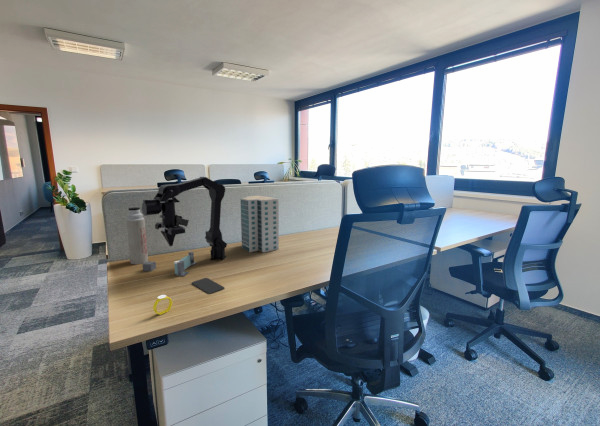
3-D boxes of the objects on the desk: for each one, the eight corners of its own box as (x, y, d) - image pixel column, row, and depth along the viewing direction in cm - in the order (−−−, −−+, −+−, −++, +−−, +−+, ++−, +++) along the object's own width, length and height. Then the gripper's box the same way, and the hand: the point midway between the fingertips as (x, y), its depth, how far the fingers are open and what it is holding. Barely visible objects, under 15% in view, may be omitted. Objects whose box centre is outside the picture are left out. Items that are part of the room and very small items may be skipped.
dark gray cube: (156, 268, 137) (155, 261, 136) (151, 271, 133) (150, 264, 133) (148, 268, 137) (147, 261, 137) (143, 271, 134) (142, 264, 133)
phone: (209, 293, 110) (190, 282, 120) (209, 295, 110) (190, 284, 120) (225, 287, 115) (206, 277, 125) (225, 289, 115) (206, 279, 125)
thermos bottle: (151, 259, 149) (147, 206, 144) (140, 264, 141) (135, 209, 137) (138, 258, 151) (133, 206, 146) (126, 263, 143) (120, 208, 138)
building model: (238, 245, 175) (236, 197, 170) (261, 241, 185) (260, 195, 179) (254, 254, 159) (252, 201, 154) (278, 249, 169) (278, 198, 163)
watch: (157, 318, 94) (155, 302, 92) (153, 315, 95) (150, 299, 94) (174, 309, 99) (172, 293, 97) (169, 307, 100) (167, 291, 99)
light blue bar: (190, 265, 141) (190, 253, 140) (178, 274, 129) (177, 262, 128) (187, 265, 141) (186, 253, 140) (174, 274, 129) (173, 262, 128)
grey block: (188, 272, 132) (188, 260, 131) (184, 276, 127) (183, 263, 126) (182, 272, 132) (181, 260, 131) (177, 276, 128) (176, 263, 127)
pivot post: (197, 262, 145) (197, 251, 144) (193, 265, 141) (193, 254, 140) (189, 262, 146) (188, 250, 144) (185, 265, 141) (184, 253, 140)
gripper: (195, 213, 129) (197, 246, 132) (176, 208, 142) (179, 239, 144) (170, 216, 121) (173, 251, 124) (153, 211, 133) (156, 243, 136)
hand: (171, 245), depth 132 cm, fingers closed
